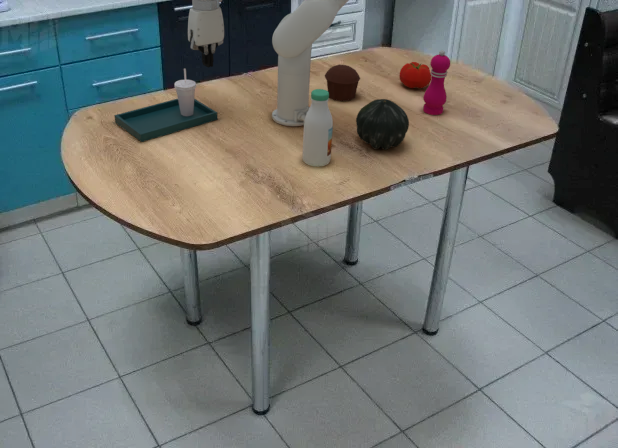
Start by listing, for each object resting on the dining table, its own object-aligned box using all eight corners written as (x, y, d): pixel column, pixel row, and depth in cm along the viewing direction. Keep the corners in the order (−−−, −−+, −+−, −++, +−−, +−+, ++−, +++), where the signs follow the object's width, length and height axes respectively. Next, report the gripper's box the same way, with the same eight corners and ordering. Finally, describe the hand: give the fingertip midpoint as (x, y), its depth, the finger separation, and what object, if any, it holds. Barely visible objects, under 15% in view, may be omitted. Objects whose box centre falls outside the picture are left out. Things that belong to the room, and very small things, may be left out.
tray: (217, 119, 202) (217, 112, 201) (141, 142, 188) (140, 134, 187) (189, 102, 212) (189, 95, 210) (115, 122, 198) (114, 115, 196)
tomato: (431, 92, 227) (435, 71, 223) (399, 91, 227) (402, 69, 223) (427, 80, 236) (430, 60, 232) (396, 79, 236) (399, 58, 232)
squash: (384, 108, 201) (367, 81, 188) (424, 127, 193) (408, 99, 180) (357, 146, 200) (338, 121, 188) (396, 166, 192) (378, 142, 179)
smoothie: (200, 110, 206) (197, 66, 198) (194, 118, 201) (192, 74, 193) (179, 108, 206) (176, 64, 198) (173, 117, 201) (170, 72, 193)
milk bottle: (321, 170, 179) (325, 100, 168) (296, 162, 182) (299, 92, 171) (335, 159, 184) (340, 90, 173) (311, 151, 188) (315, 83, 176)
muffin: (364, 95, 223) (367, 66, 217) (348, 105, 215) (350, 76, 209) (334, 86, 228) (336, 58, 222) (316, 96, 220) (318, 67, 214)
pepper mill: (419, 106, 217) (428, 46, 206) (441, 106, 217) (451, 46, 206) (424, 115, 211) (433, 54, 200) (446, 116, 211) (457, 54, 200)
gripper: (220, -4, 197) (221, 57, 207) (175, 4, 189) (179, 66, 199) (234, 3, 192) (235, 64, 203) (190, 11, 184) (193, 74, 194)
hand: (207, 65), depth 201 cm, fingers closed
